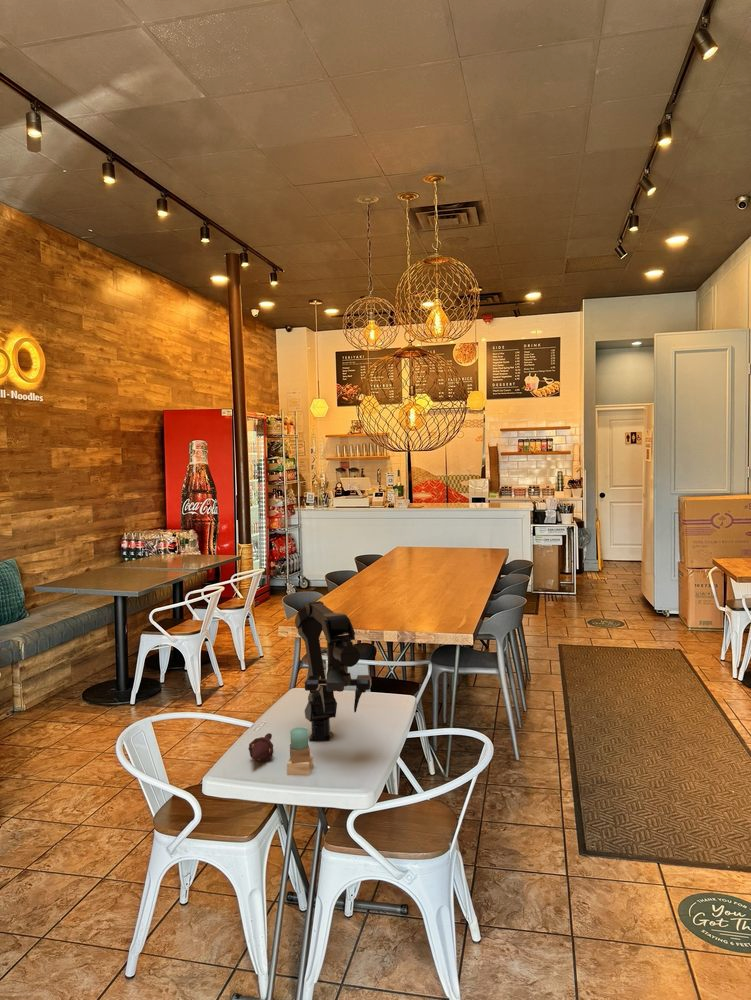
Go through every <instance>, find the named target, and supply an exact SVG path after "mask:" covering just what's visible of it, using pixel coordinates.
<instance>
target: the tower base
mask: <svg viewBox="0 0 751 1000" xmlns="http://www.w3.org/2000/svg"><path fill="white" fill-rule="evenodd" d="M313 768H314V754H310V762H302V763H293V764H292V762H291V758H290V757H289V759H288V761H287V762H286V774H287V776H310V774H311V772H312V770H313Z"/></svg>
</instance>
